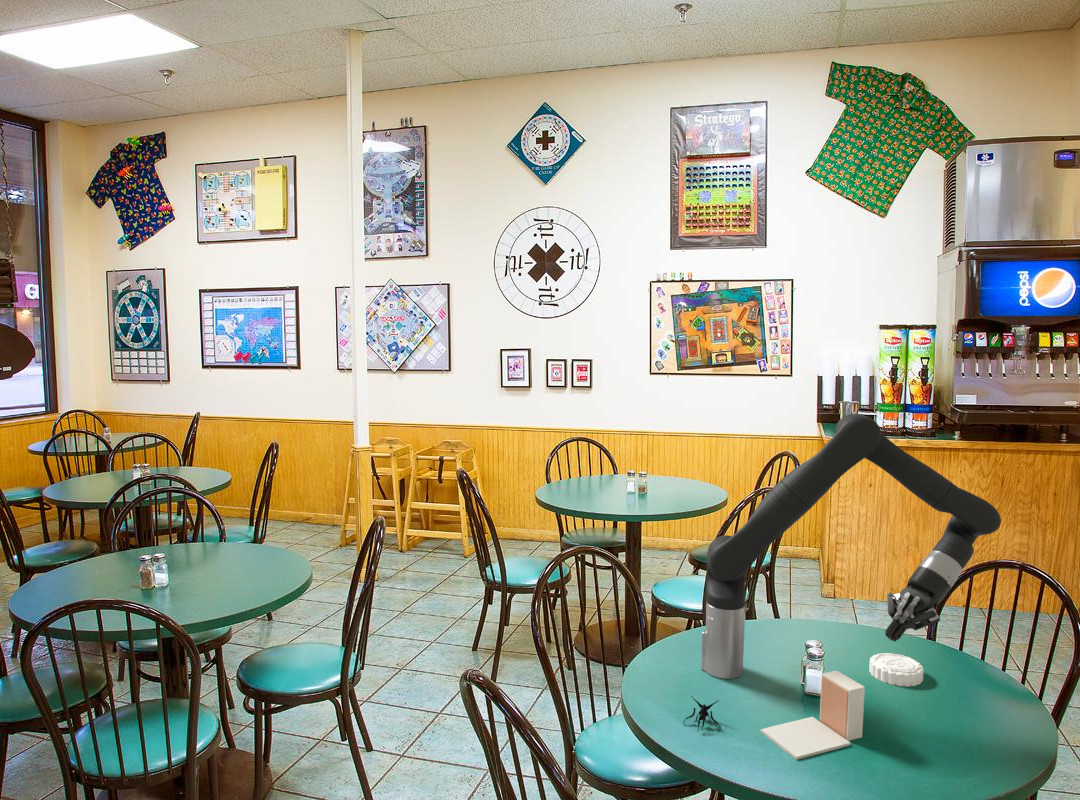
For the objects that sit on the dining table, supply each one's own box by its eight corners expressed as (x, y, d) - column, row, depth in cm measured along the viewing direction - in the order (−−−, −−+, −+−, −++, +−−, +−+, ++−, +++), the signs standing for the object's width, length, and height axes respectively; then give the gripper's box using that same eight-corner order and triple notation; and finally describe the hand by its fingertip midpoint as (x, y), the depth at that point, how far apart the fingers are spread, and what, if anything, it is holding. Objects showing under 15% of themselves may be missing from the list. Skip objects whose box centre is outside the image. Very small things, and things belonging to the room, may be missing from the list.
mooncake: (860, 665, 195) (861, 651, 194) (907, 664, 195) (907, 650, 195) (883, 688, 183) (884, 673, 182) (933, 687, 183) (934, 672, 183)
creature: (719, 742, 161) (723, 716, 168) (719, 721, 159) (723, 695, 166) (681, 735, 164) (687, 709, 171) (680, 714, 162) (686, 689, 169)
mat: (760, 732, 163) (760, 729, 163) (812, 719, 168) (812, 716, 168) (796, 759, 153) (796, 757, 153) (850, 745, 158) (850, 742, 158)
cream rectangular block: (818, 722, 167) (821, 673, 165) (834, 718, 168) (836, 670, 167) (846, 741, 159) (849, 690, 158) (862, 737, 161) (864, 686, 160)
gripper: (902, 557, 175) (857, 617, 172) (953, 575, 163) (906, 640, 159) (918, 577, 178) (874, 636, 174) (969, 596, 165) (923, 660, 162)
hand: (889, 638), depth 167 cm, fingers closed
